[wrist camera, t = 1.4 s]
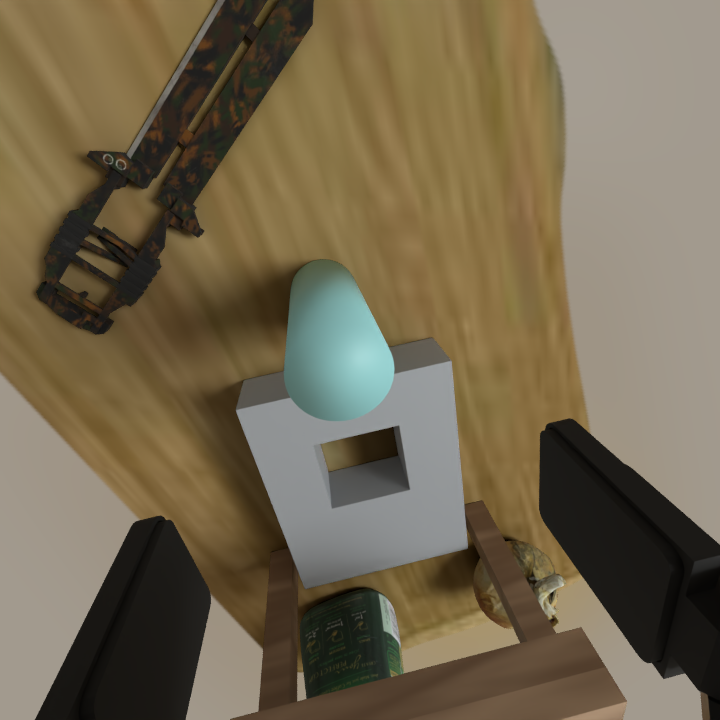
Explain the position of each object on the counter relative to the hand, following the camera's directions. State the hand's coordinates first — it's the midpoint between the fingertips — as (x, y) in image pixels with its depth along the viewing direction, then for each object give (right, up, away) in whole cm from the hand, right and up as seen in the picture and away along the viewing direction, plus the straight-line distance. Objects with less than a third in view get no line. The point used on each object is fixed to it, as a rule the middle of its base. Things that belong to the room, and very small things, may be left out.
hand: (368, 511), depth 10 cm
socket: (0, -4, +23) cm, 23 cm away
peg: (-3, +8, +17) cm, 19 cm away
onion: (+14, -16, +31) cm, 37 cm away
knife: (-10, +16, +12) cm, 23 cm away
